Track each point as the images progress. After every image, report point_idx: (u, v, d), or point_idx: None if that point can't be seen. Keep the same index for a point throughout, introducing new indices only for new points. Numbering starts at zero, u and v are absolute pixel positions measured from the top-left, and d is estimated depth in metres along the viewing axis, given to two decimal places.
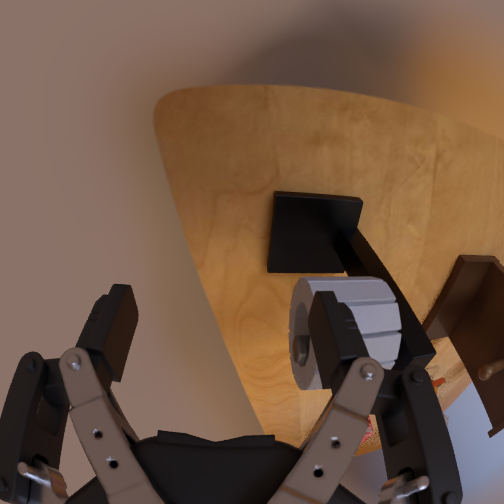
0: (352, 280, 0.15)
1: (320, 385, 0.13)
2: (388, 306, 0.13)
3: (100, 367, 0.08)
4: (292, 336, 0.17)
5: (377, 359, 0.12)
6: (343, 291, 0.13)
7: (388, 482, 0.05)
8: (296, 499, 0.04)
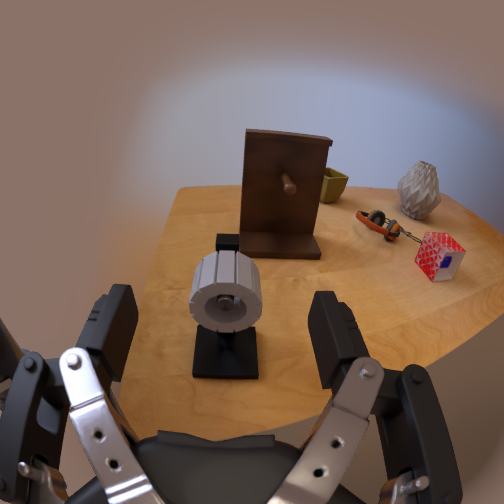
0: None
1: (231, 277, 0.23)
2: (195, 271, 0.27)
3: (100, 367, 0.08)
4: (243, 319, 0.25)
5: (213, 259, 0.25)
6: None
7: (388, 482, 0.05)
8: (296, 499, 0.04)
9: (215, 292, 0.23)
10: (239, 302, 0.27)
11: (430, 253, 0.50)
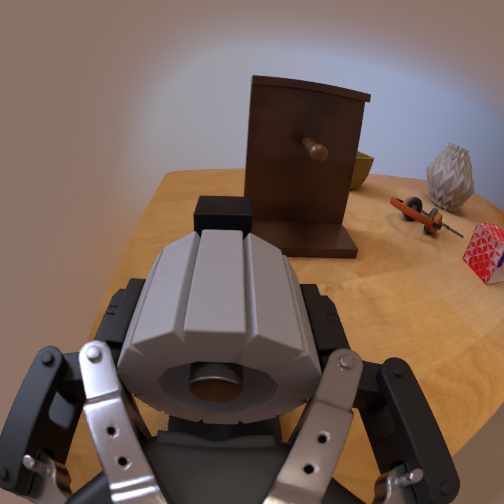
0: None
1: (234, 312, 0.07)
2: (145, 281, 0.10)
3: None
4: (266, 407, 0.09)
5: (184, 252, 0.09)
6: None
7: (381, 477, 0.05)
8: (290, 498, 0.04)
9: (183, 356, 0.07)
10: None
11: (484, 249, 0.34)
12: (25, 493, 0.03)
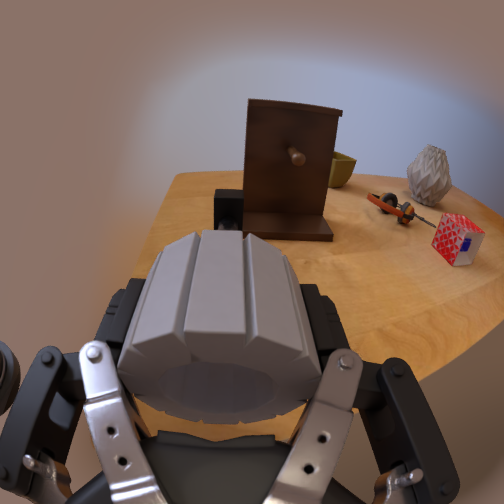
0: None
1: (234, 313, 0.07)
2: (145, 282, 0.10)
3: None
4: (266, 407, 0.09)
5: (184, 253, 0.09)
6: None
7: (381, 477, 0.05)
8: (290, 497, 0.04)
9: (183, 357, 0.07)
10: None
11: (449, 235, 0.44)
12: (25, 493, 0.03)
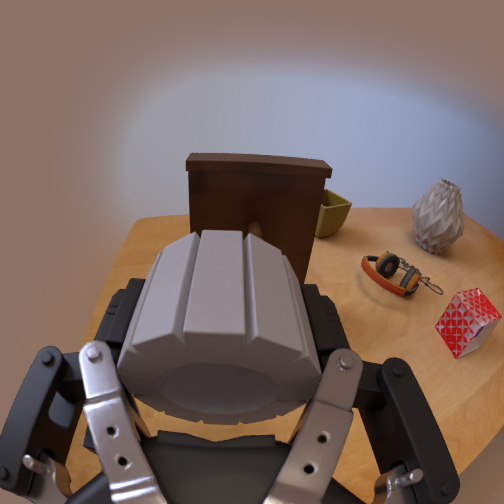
0: None
1: (233, 313, 0.07)
2: None
3: None
4: (266, 408, 0.09)
5: (184, 253, 0.09)
6: None
7: (381, 477, 0.05)
8: (290, 497, 0.04)
9: (183, 357, 0.07)
10: None
11: (458, 323, 0.33)
12: (25, 493, 0.03)
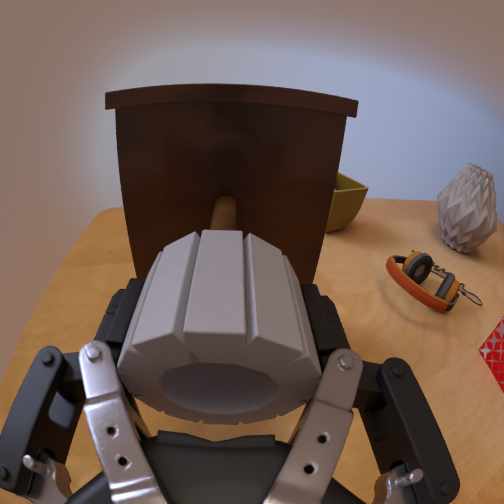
0: None
1: (234, 313, 0.07)
2: (145, 282, 0.10)
3: None
4: (266, 408, 0.09)
5: (184, 253, 0.09)
6: None
7: (381, 477, 0.05)
8: (290, 497, 0.04)
9: (183, 357, 0.07)
10: None
11: None
12: (25, 493, 0.03)
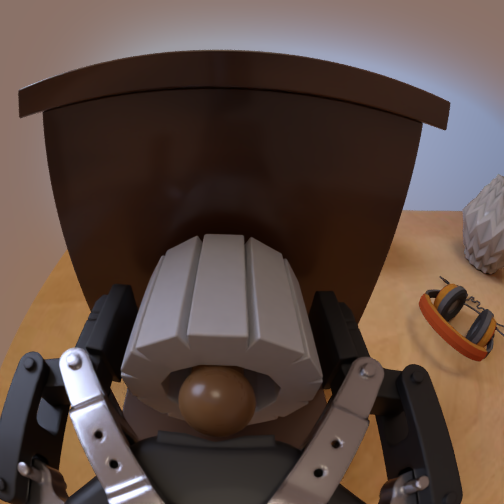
0: None
1: (236, 316, 0.07)
2: None
3: (100, 367, 0.08)
4: (268, 409, 0.09)
5: (186, 257, 0.09)
6: None
7: (388, 482, 0.05)
8: (296, 499, 0.04)
9: (187, 360, 0.07)
10: None
11: None
12: (25, 502, 0.02)
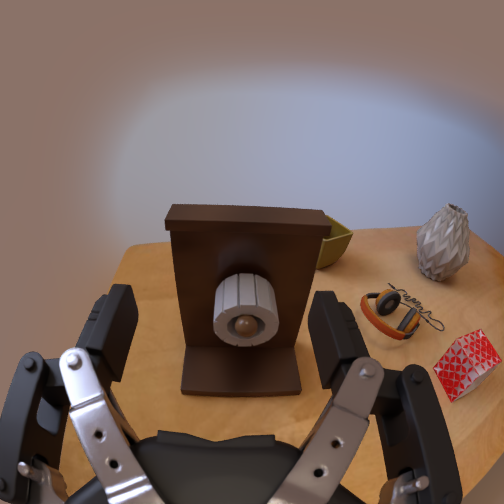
0: None
1: (252, 300, 0.26)
2: (216, 291, 0.30)
3: (100, 367, 0.08)
4: (261, 335, 0.28)
5: (234, 282, 0.28)
6: None
7: (388, 482, 0.05)
8: (296, 499, 0.04)
9: (238, 313, 0.26)
10: (256, 319, 0.30)
11: (457, 368, 0.30)
12: (25, 503, 0.02)
